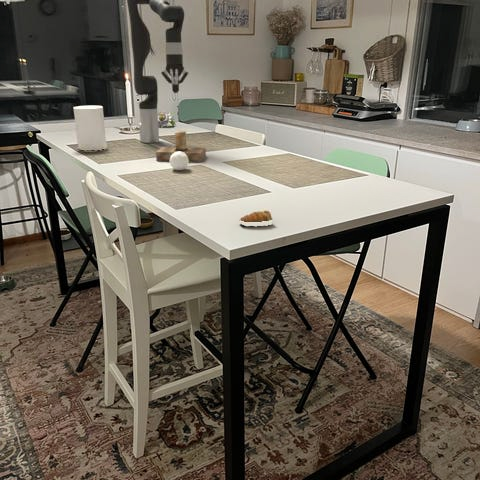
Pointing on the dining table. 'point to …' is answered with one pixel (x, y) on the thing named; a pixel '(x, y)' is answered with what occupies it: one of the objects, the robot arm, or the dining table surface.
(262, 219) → the pastry
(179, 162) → the ball
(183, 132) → the peg
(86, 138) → the canister
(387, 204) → the dining table surface
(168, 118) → the passion flower
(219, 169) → the dining table surface
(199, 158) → the board
